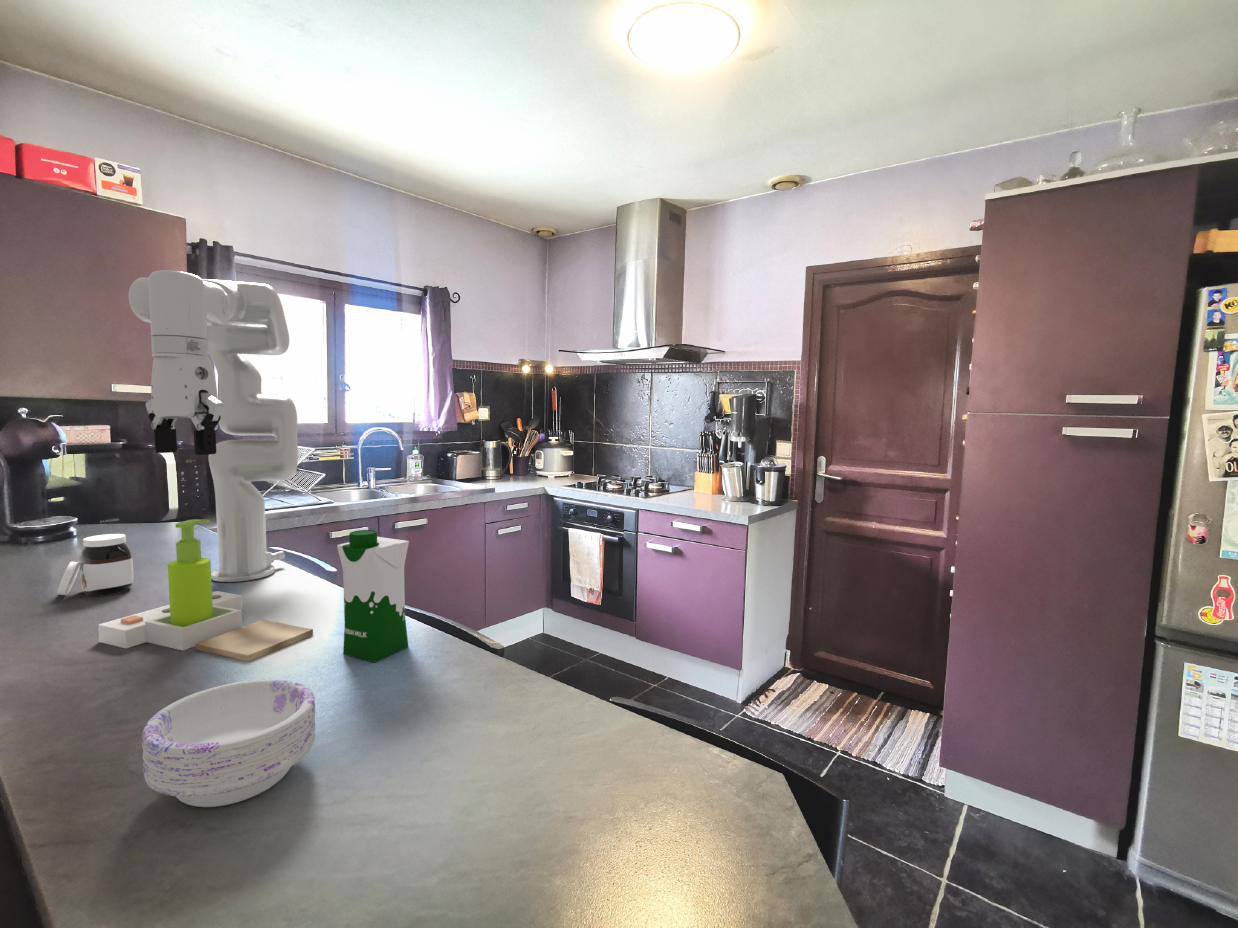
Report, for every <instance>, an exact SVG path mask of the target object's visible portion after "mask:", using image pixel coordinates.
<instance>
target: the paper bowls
mask: <svg viewBox="0 0 1238 928" xmlns="http://www.w3.org/2000/svg"><path fill="white" fill-rule="evenodd" d="M315 737H316V697H315V694H314V692H313V691H312V690H311V689H310V688H309V687H307V686H306V685H305V684H302V683H300V682H297V681H292V680H288V679H287V680H286V679H284V680H283V679H276V678H275V679H274V678H273V679H272V678H271V679H252V680H244V681H237V682H230V683H227V684H222V685H219V686H218V685H217V686H213V687H211V688H207V689H204V690H203V689H202V690H201V691H197V692H195V693H192V694H189V695H187V696H185V697H181V698H180V699H178V700H176V701H174V702H172V703H171V704H168V705H167V706H165V707H164V708H161V709H160V710H159V711H157V712H156V713H155V714H154V715H153V716H152V717H150V719H149V720H148V721H147V722H146V723H145V726H144V727H143V730H142V734H141V742H142V743H141V746H142V764H143V765H142V769H143V777H144V780H145V783H146V785H147V786H148V787H149V788H150V789H151V790H152V791H155V792H156V793H160V794H164V795H167V796H171V797H175V798H176V799H178V800H179V801H180V802H182V803H183V804H186V805H189V806H193V807H199V808H214V807H215V808H217V807H222V806H229V805H233V804H235V803H240V802H242V801H245V800H248V799H251V798H253V797H256V796H257V795H260V794H261V793H264V792H265V791H267V790H268V789H271V787H273V786H275V785H276V784H277V783H278V782H280V781H281V780H282V779H283V777H284V776H286V775H287V773H288V772H289V771H290V769H291V768H292V767H293V766H294V765H296V764H297V763H298V762H300V761H301V760H302V759H303V758H304V757H305V756H306V755H308V753H309V752H310V750H311V748H312V746H313V744H314V742H315Z"/></svg>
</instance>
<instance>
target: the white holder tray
mask: <svg viewBox="0 0 1238 928" xmlns="http://www.w3.org/2000/svg"><path fill="white" fill-rule="evenodd" d="M243 600H244V599H243V594H235V593H232V592H231V593H230V592H225V591H220V590H217V591H212V603H213V618H211V619H208V620H204V621H201V622H198V623H195V624H192V625H189V626H186V627H180V626H175V625H171V618H170V603H169V604H166V605H163V606H160V607H157V608H151V609H149V610H145V611H143V612H142V611H141V612H138V613H134V614H131V615H127V616H124V617H120V618H117V619H113V620H110V621H105V622H103V623H99V624H98V630H97V631H98V642H99V643H102V644H107V645H110V646H114V647H117V648H122V649H130V648H132V647H135V646H139V645H141V644H144V643H149V644H153V645H157V646H161V647H165V648H171V649H175V650H179V651H183V652H184V651H186V650H189V649H192V648H195V644H196V643H199V642H201V641H204V640H207V639H210V638H213V637H216V636H218V635H221V634H224V633H227V632H230V631H233V630H235V629H238V628H241V627H243V617H242V616H243V615H242V612H243V611H244V605H243V602H244V601H243Z"/></svg>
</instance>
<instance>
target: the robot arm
mask: <svg viewBox="0 0 1238 928" xmlns="http://www.w3.org/2000/svg"><path fill="white" fill-rule="evenodd" d="M128 301H129V302H128V303H129V306H130V309H131V310H132V312H133V314H134V316H136V317H137V318H138V319H139V320H141V321H143V322H145V323H150V340H151V342H150V343H151V344H150V345H151V357H152V358H153V360H152V367H151V368H152V369H151V379H150V381H151V387H150V390H151V393H150V395H151V398H150V399H149V400H148V401H146V402H145V408H146V411H147V414H148V419H149V421H150V422H151V426H150V427H151V428H152V429H153V437H154V438H153V439H154V441H153V442H154V452H155V453H156V454H166V453H169V454H170V453H171V454H172V453H177V451H178V445H177V444H178V443H177V429H176V428H174V426H175V424H176V422H177V421H178V419H190V420H191V422H192V423H193V424H194V426H195V428H196V429H194V430H193V445H194V446H193V447H194V455H196V456H203V455H206V456H207V455H208V463H209V464H208V465H209V468H210V473H211V477H212V480H213V481H212V482H213V487H214V494H215V495H214V497H215V498H214V499H215V515H216V534H217V536H216V537H217V553H218V554H217V555H218V556H217V557H218V558H217V559H218V569H216V570H214V571H211V581H215V582H220V583H221V582H222V583H237V582H238V583H239V582H247V581H253V580H258V579H263V578H265V577H268V576H271V575H272V574H274V573H275V571H276V568H275V567H276V566H275V565H273V564H272V563H274V562H275V561H279V560H283V559H284V558H285V557H286V554H285V551H284V550H280V551H277V552H273V553H272V552H270V551H267V530H266V529H267V527H266V507H265V506H266V504H265V498H264V496H263V494H262V493H261V492H260V490H258V489H257V487H256V486H255V485H254V484H253V482H264V481H267V482H268V481H271V482H272V481H286V480H290V479H293V478H294V477H295V475H296V473H297V470H298V463H299V462H298V461H299V459H298V457H299V456H298V449H299V448H298V413H297V409H296V405H295V403H294V401H293V400H292V399H291V398H289V397H288V396H285V395H275V394H274V395H272V394H271V395H270V394H262V376H261V373H260V372H259V371H258V369H257V368H256V367H255V366H254V365H253V364H252V363H251V361H249V360H248V359H246V358H245V357H244V355H258V356H259V355H261V356H280V355H283V354H285V353H286V352H287V350H288V349H289V346H290V334H289V329H288V324H287V320H286V316H285V312H284V308H283V307H284V306H283V304H282V301H281V299H280V296H279V294H278V293H277V291H276V290H275V288H274V287H272V286H270V285H269V284H266V283H258V282H246V281H234V280H233V281H232V280H225V279H224V280H223V279H209V278H208V279H207V278H201V277H200V276H198V275H195V274H193V273H190V272H185V271H179V270H168V269H166V270H165V269H162V270H155V271H152V272H151V273H150V274H149V276H148V277H138V278H136V279H135V280H134V281H133V282H132V284H131V285H130V287H129V290H128ZM242 354H243V355H242ZM212 363H213V364H212ZM213 365H214V367H213ZM214 368H215V369H216V372H217V376H218V377H217V378H218V388H217V381H216V376H215V370H214ZM217 389H218V390H217ZM218 424H219V425H218ZM219 428H220V430H221V431H222V432H224V433H225V434H228V435H232V436H272V437H274V438H275V439H231V440H230V439H229V440H223V441H220V442H217V437H216V436H217V435H216V432H217V431H216V430H218V429H219Z"/></svg>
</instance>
